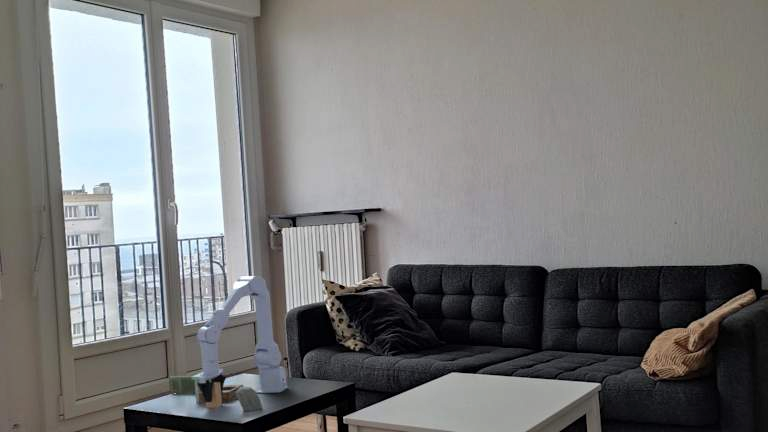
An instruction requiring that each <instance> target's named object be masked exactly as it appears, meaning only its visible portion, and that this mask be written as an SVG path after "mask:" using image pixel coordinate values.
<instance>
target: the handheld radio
mask: <svg viewBox="0 0 768 432" xmlns="http://www.w3.org/2000/svg"><path fill="white" fill-rule="evenodd" d="M192 376H193V375H171V376H168V380H169V381H168V382H169V392H170V394H196V393H195V382H194V380H192V379H191V377H192ZM200 392H202V391H201V390H200Z"/></svg>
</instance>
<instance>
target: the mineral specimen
mask: <svg viewBox="0 0 768 432" xmlns="http://www.w3.org/2000/svg"><path fill="white" fill-rule="evenodd" d="M235 394H236V396H237V398H236V399H237V401H238V402H239V404H240V406H241V408H242V410H243V411H244V412H245V411H246V412H252V411H256V410H260V409H263V404H262V402H261V399H260V396H259V395H258V393H257V391H256V390H255V389H253V388H252V387H250V386H243V387H242V386H241V387H240V388H238V390H237V391H236V392H235Z"/></svg>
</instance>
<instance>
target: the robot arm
mask: <svg viewBox="0 0 768 432" xmlns="http://www.w3.org/2000/svg"><path fill="white" fill-rule="evenodd" d="M266 281H267V280H266V279H265V278H263V277H262V276H260V275H254V276H253V275H251V276H250V275H247V276H246V275H242V276H239V277H238V278H237V280H236V281H235V282H234V283H233V287H232V288H233V289H232V290H231V291H230V293H229V295H228V296H227V298H226V300H224V302H223V305H222V306H221V308H217V309H215V310H213V311H212V312H211V316H210V318H209V319H208V321H207V322H205V323H204V326H202V327H200V328H199V329H198V331H197V333H196V334H197V335H196V340H197V341H198V342H199V346H200V355H201V364H202V365H201V366H202V367H201V368H202V372H203V373H201V372H200V373H201V374H200V376H201V377H200V378H199V382H198V383H197V385H198V387H199V388H200V390H201V391H202V394H203V396H204V399H205V402H212V389H213V385H214V383H215V382H220V387H221V396H222V390H223V385H225V382H226V379H227V375H226V374H224V369H223V368H220V361H219V359H220V358H219V351H218V350H219V348H218V341H219V340H220V338H221V332H222V330H223V329H224V327H225V326H226V324H227V323H228V322H229V320H230V313H231V312H232V310H233V309H234V308H235V307H236V306H237V305H238V303H239V301H240V300H241V299H242V298H245V297H250V298H252V299H253V300H254V302H255V303H254V304H255V313H256V315H255V316H256V325H257V326H256V327H257V339H258V342H257V343H256V344H255V347H254V348H255V349H254V354H253V362H254V363H255V365H257V368H258V373H259V374H258V375H259V384H260V386H259V387H260V389H259V390H257V391H256V392H257V394H269V393H274V394H275V393H281V392H283V391H285V390H286V389H288V388H289V387H288V383H287V373H286V368H285V367H284V366H280V363H281V362H282V360H283V359H282V353H281V352H280V348H279V345H278V344H277V343H276V342H275V341H274V335H273V334H274V332H273V320H272V307H271V295H270V291H269V289H268V288H267V282H266ZM209 380H211V382H210V381H209Z"/></svg>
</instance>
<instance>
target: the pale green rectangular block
mask: <svg viewBox="0 0 768 432" xmlns="http://www.w3.org/2000/svg"><path fill="white" fill-rule="evenodd" d="M201 373H203V371H202V372H199V373H197V374H195V375H191V376H192V377H191V379H192V380H194V382H195V393H194V394H195V401H196V402H195V403H196V404H198V403H199V394H198V393H200V388H199V387H198V385H197V383H198V382H199V378H200V377H201V376H200V374H201ZM209 381H210V382H211V380H209Z"/></svg>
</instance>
